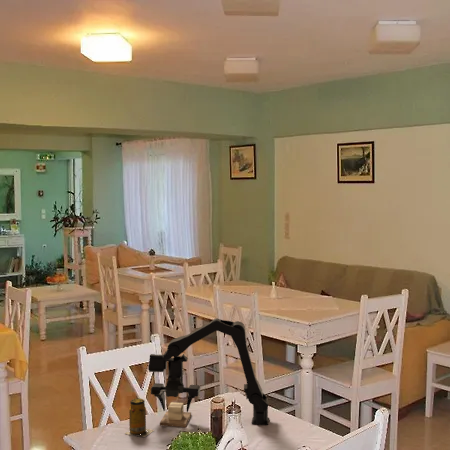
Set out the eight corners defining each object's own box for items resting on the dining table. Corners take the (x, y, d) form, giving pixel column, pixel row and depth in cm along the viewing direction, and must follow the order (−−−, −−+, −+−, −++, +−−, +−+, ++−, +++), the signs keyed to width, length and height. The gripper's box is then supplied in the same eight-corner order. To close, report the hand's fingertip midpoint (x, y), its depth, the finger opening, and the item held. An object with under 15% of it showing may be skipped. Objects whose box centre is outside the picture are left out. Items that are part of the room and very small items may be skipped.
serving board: (166, 414, 244) (166, 411, 244) (191, 415, 243) (191, 412, 243) (159, 425, 232) (159, 422, 232) (185, 427, 231) (185, 423, 231)
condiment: (134, 427, 231) (134, 396, 231) (154, 430, 228) (154, 399, 227) (124, 434, 225) (124, 402, 224) (144, 437, 221) (144, 405, 221)
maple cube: (171, 414, 240) (171, 402, 240) (183, 415, 240) (183, 403, 239) (168, 419, 235) (168, 406, 235) (180, 420, 235) (180, 407, 234)
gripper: (146, 377, 230) (147, 417, 231) (195, 379, 227) (195, 420, 228) (154, 368, 241) (154, 407, 242) (200, 370, 238) (200, 409, 239)
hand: (175, 411), depth 237 cm, fingers open, 9 cm apart
